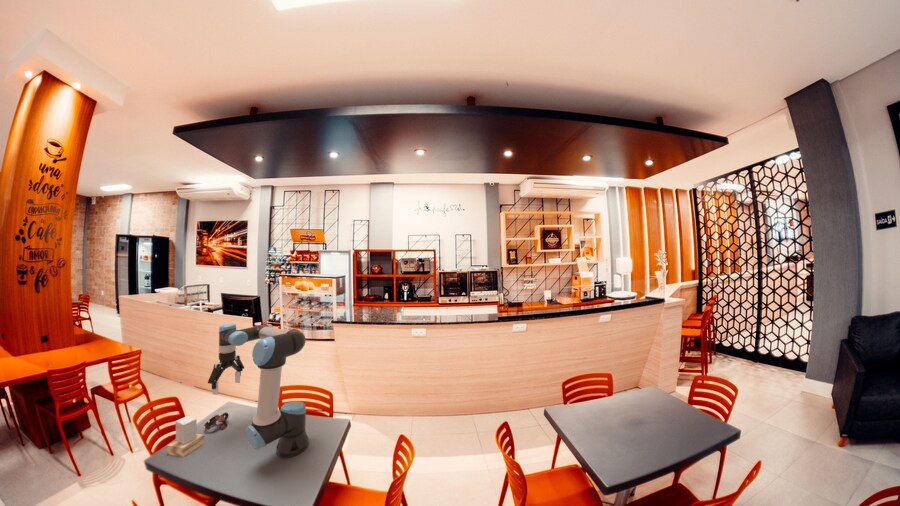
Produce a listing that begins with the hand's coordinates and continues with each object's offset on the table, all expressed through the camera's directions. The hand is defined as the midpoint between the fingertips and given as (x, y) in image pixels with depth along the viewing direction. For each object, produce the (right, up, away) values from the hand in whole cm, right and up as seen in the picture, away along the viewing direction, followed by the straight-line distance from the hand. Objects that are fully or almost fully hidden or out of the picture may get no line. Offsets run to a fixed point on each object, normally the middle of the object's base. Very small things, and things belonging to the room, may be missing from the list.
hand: (226, 388), depth 158 cm
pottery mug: (-9, -25, +4) cm, 27 cm away
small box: (-11, -21, -13) cm, 27 cm away
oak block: (-11, -26, -13) cm, 31 cm away
